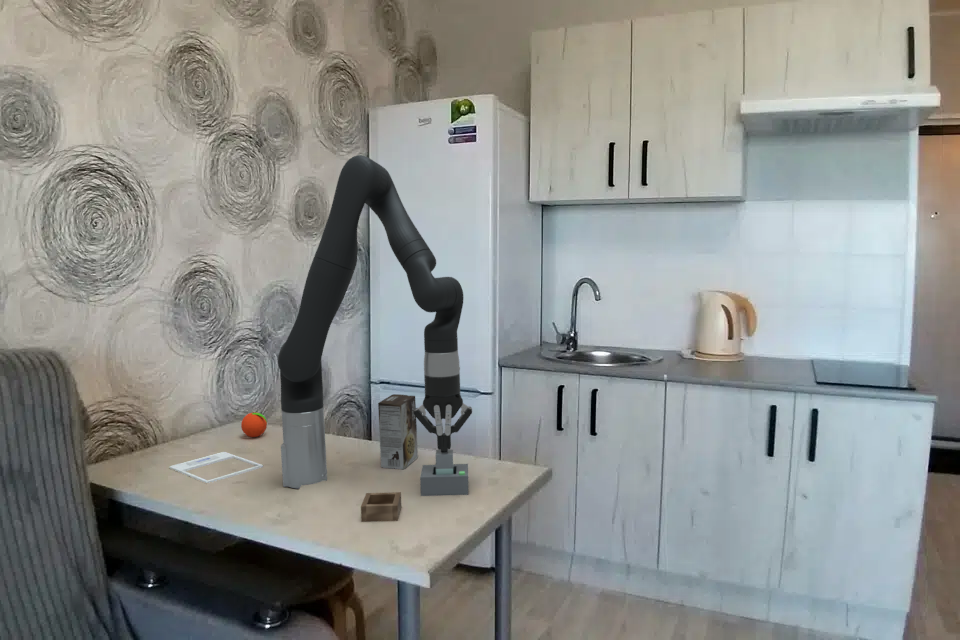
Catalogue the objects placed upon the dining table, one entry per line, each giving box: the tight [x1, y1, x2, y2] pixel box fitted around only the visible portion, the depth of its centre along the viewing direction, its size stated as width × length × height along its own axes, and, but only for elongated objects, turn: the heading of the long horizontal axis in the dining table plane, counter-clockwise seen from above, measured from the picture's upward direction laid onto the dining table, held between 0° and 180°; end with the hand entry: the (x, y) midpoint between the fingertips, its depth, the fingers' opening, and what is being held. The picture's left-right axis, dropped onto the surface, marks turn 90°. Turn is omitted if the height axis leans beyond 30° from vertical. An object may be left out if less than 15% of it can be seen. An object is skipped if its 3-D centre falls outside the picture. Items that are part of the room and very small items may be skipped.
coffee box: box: [377, 394, 419, 470], centre depth 170 cm, size 9×6×16 cm
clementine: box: [240, 411, 268, 438], centre depth 195 cm, size 8×7×7 cm
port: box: [419, 463, 469, 497], centre depth 150 cm, size 10×8×5 cm
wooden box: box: [360, 491, 403, 523], centre depth 137 cm, size 7×7×4 cm
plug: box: [435, 449, 454, 475], centre depth 149 cm, size 4×4×8 cm
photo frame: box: [168, 451, 264, 484], centre depth 170 cm, size 15×1×18 cm
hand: (444, 451), depth 149 cm, fingers closed
